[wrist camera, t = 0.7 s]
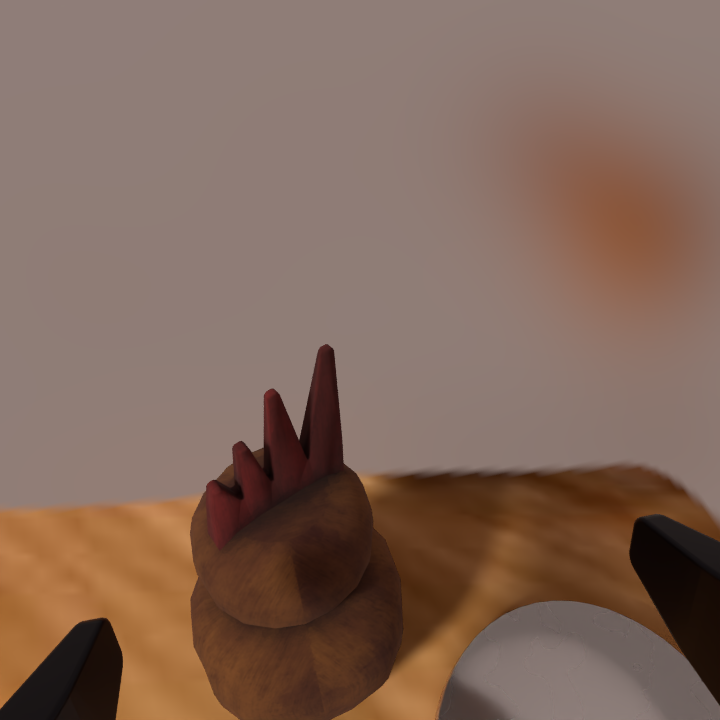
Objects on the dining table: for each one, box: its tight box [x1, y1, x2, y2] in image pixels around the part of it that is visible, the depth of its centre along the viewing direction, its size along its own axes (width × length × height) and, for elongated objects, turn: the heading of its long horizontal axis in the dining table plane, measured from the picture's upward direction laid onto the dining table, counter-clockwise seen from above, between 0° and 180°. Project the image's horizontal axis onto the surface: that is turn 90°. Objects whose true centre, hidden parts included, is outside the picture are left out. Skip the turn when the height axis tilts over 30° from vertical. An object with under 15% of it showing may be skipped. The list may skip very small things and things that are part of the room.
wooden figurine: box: [190, 344, 403, 720], centre depth 16 cm, size 7×6×15 cm
